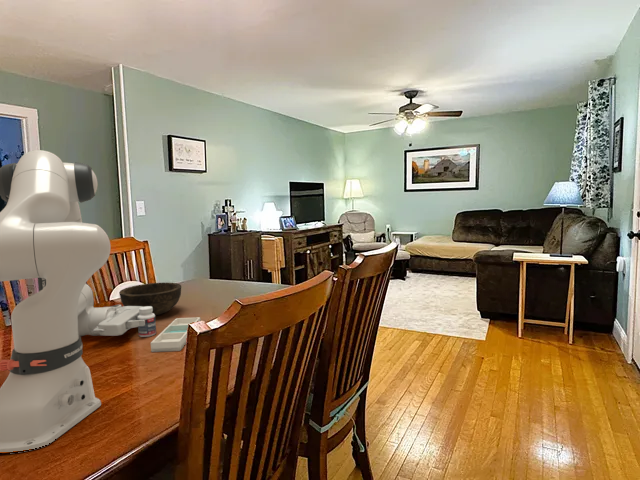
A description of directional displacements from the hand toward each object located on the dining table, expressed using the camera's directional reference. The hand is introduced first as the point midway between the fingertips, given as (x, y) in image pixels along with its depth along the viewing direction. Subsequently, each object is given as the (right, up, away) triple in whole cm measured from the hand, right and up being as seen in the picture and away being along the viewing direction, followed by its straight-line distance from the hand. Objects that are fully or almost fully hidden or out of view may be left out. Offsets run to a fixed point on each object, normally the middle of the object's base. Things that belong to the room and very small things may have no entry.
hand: (149, 319), depth 130 cm
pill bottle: (-1, -5, 0) cm, 5 cm away
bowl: (-9, -3, +24) cm, 26 cm away
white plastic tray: (+10, -5, -3) cm, 12 cm away
